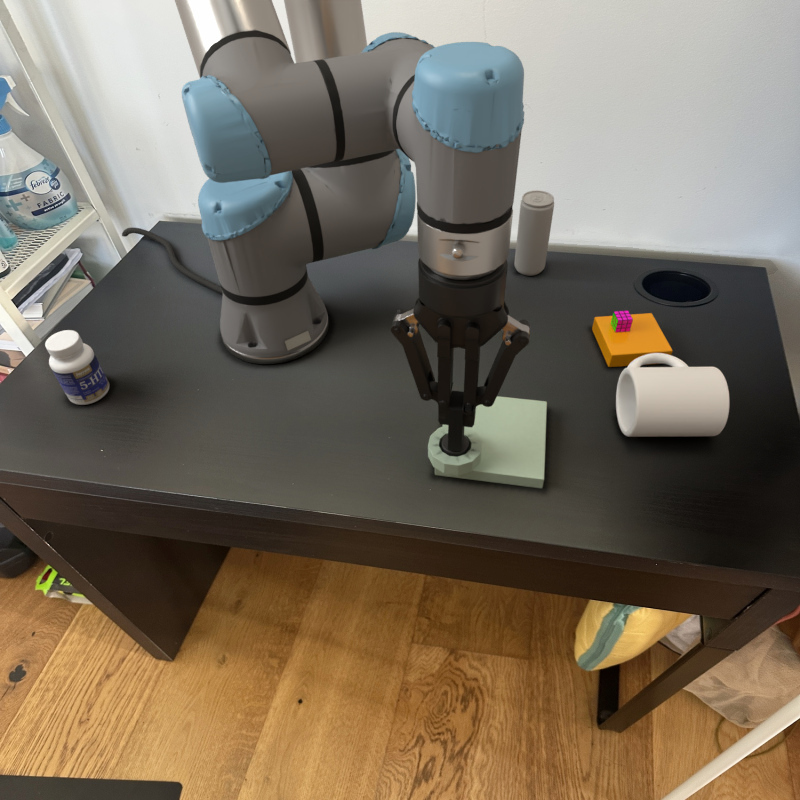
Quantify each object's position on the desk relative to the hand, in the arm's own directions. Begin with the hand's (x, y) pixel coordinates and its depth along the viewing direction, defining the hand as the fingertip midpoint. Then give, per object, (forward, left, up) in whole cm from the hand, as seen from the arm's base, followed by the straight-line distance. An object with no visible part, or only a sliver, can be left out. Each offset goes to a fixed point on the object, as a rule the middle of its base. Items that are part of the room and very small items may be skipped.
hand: (456, 441), depth 69 cm
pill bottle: (-35, -35, -4) cm, 50 cm away
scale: (-1, +6, -4) cm, 7 cm away
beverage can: (-27, +31, -4) cm, 42 cm away
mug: (+6, +25, -4) cm, 26 cm away
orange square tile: (-5, +31, -4) cm, 32 cm away
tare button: (0, 0, -2) cm, 2 cm away
